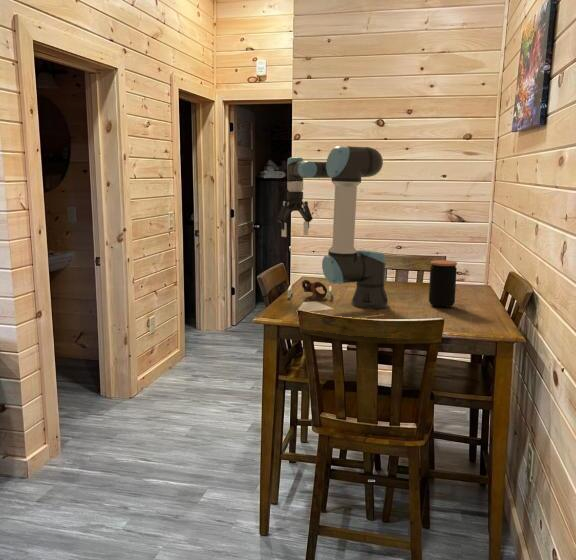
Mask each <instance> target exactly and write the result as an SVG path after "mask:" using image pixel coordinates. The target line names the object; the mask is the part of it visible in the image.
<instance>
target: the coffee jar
mask: <svg viewBox="0 0 576 560" xmlns="http://www.w3.org/2000/svg"><path fill="white" fill-rule="evenodd" d="M430 264H431V266H430V269H429V288H428V291H429V292H428V302H429V304H430V305H432V306H435V307H445V308H446V307H451V306H453V305H454V304H455V302H456V286H457V267H456V266H457V265H458V262H456V261H454V260H447V259H446V260H445V259H438V260H431V261H430Z"/></svg>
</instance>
